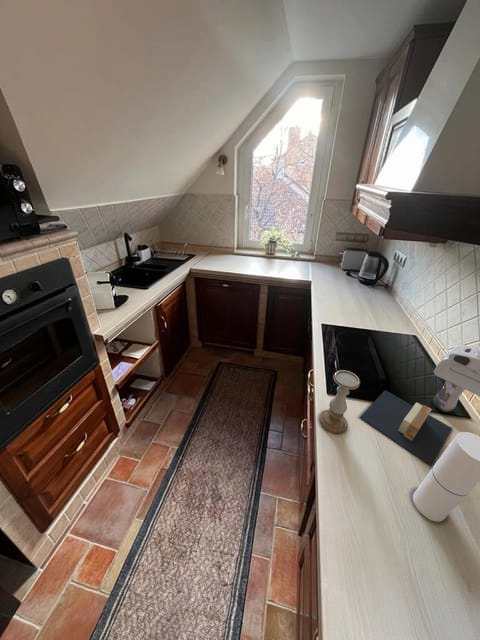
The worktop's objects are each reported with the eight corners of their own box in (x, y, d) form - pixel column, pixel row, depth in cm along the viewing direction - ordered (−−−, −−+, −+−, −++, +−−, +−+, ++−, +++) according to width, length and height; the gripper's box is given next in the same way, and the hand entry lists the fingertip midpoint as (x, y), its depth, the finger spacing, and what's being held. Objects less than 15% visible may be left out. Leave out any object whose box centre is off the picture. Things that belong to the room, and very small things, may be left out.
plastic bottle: (456, 411, 92) (484, 369, 82) (443, 416, 90) (471, 374, 79) (438, 398, 97) (463, 357, 87) (426, 403, 95) (450, 362, 85)
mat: (450, 428, 86) (451, 427, 85) (431, 466, 74) (431, 465, 74) (384, 390, 100) (385, 389, 100) (359, 417, 89) (360, 416, 88)
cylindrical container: (406, 496, 67) (448, 437, 55) (425, 486, 70) (469, 427, 57) (432, 526, 62) (485, 469, 49) (452, 514, 64) (507, 457, 51)
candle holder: (346, 416, 89) (362, 372, 79) (346, 437, 82) (363, 392, 72) (321, 408, 92) (332, 365, 81) (318, 428, 85) (330, 383, 74)
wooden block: (424, 421, 88) (432, 409, 84) (411, 441, 81) (419, 429, 78) (410, 412, 90) (417, 401, 87) (397, 431, 84) (403, 419, 81)
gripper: (555, 382, 58) (521, 422, 65) (450, 342, 72) (431, 378, 79) (553, 396, 55) (517, 436, 62) (443, 350, 68) (423, 388, 75)
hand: (468, 403), depth 70 cm, fingers open, 8 cm apart
